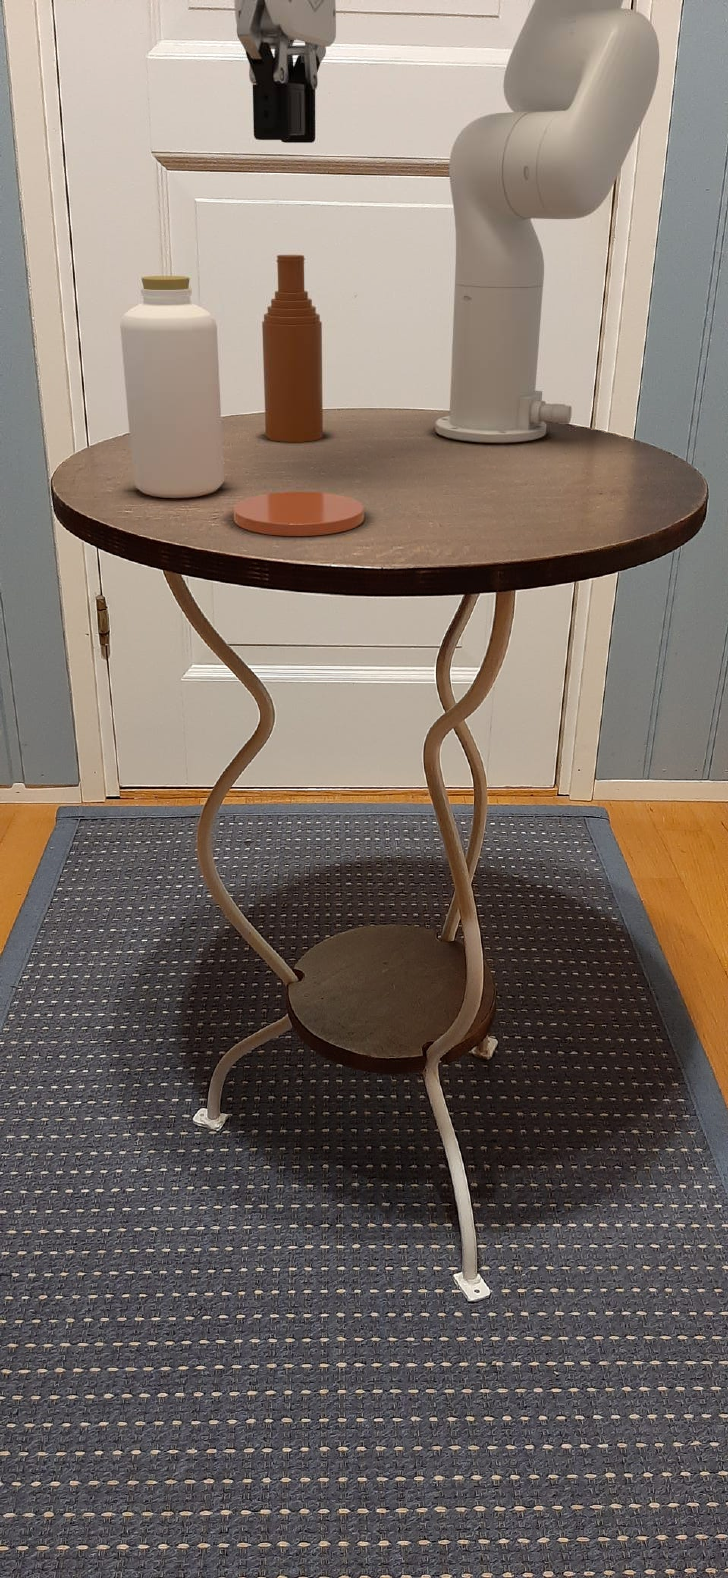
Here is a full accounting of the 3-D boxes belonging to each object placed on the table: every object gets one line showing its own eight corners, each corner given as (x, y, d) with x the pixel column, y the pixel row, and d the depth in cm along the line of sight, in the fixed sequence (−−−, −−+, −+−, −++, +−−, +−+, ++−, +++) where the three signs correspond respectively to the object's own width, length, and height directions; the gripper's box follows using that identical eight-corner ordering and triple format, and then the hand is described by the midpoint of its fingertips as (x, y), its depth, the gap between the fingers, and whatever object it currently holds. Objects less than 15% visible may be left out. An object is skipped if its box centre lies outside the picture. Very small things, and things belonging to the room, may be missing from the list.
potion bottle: (126, 483, 108) (108, 274, 100) (213, 477, 111) (202, 273, 103) (142, 503, 102) (124, 281, 93) (234, 496, 104) (224, 280, 96)
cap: (247, 133, 99) (245, 84, 97) (283, 135, 101) (283, 87, 99) (277, 132, 96) (276, 81, 94) (314, 134, 98) (314, 85, 97)
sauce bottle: (331, 433, 131) (330, 254, 122) (309, 443, 126) (307, 257, 117) (279, 429, 133) (275, 253, 124) (256, 439, 127) (249, 255, 119)
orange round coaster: (382, 510, 100) (383, 498, 100) (332, 542, 91) (332, 529, 91) (269, 498, 104) (269, 486, 103) (210, 527, 95) (209, 515, 94)
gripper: (275, -159, 82) (279, 136, 90) (367, -106, 96) (364, 145, 104) (184, -150, 85) (196, 136, 93) (287, -100, 98) (290, 145, 107)
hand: (285, 138), depth 98 cm, fingers closed on cap, 4 cm apart
